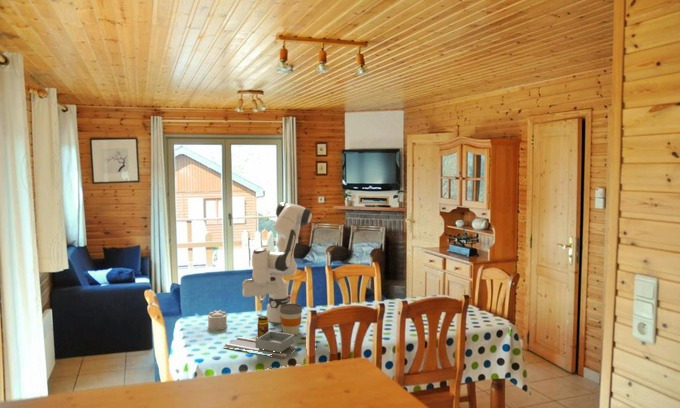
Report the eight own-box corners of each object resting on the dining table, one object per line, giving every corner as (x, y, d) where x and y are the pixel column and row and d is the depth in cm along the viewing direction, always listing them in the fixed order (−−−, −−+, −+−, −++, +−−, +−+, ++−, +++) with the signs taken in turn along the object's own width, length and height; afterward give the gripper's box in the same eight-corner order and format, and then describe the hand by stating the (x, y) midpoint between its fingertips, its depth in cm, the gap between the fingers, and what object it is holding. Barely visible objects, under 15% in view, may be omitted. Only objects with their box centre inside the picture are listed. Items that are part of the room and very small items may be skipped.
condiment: (264, 341, 306) (264, 319, 304) (251, 338, 310) (251, 317, 308) (272, 337, 312) (272, 316, 311) (259, 334, 316) (259, 313, 315)
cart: (270, 340, 301) (270, 330, 300) (294, 345, 295) (294, 334, 294) (255, 349, 287) (255, 339, 287) (280, 354, 282) (280, 343, 281)
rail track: (240, 338, 309) (240, 335, 309) (298, 348, 295) (298, 345, 295) (223, 348, 295) (223, 345, 295) (283, 359, 280) (283, 356, 280)
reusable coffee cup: (298, 336, 313) (298, 310, 311) (277, 335, 315) (276, 309, 314) (304, 329, 325) (304, 304, 324) (283, 327, 328) (283, 302, 326)
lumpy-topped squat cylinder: (208, 330, 322) (207, 315, 322) (208, 323, 335) (208, 308, 334) (226, 329, 324) (226, 314, 323) (226, 322, 337) (226, 308, 336)
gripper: (243, 281, 299) (244, 306, 301) (280, 277, 308) (280, 301, 310) (240, 278, 305) (241, 303, 307) (276, 274, 313) (277, 298, 315)
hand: (261, 302), depth 308 cm, fingers closed
